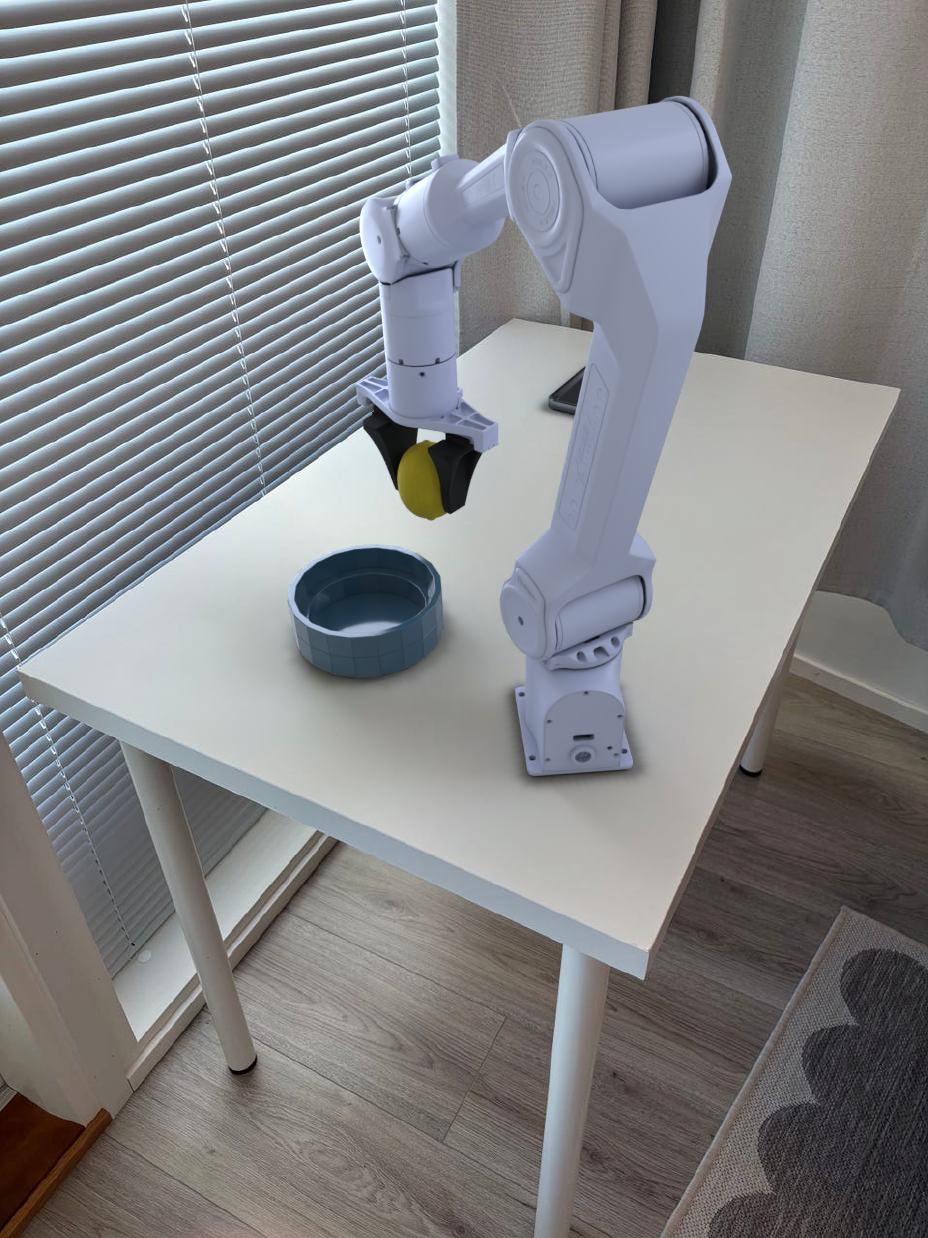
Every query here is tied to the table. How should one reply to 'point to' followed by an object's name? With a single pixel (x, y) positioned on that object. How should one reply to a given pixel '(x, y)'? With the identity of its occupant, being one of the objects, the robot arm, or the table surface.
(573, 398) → the phone
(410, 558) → the bowl
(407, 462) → the lemon
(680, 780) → the table surface
